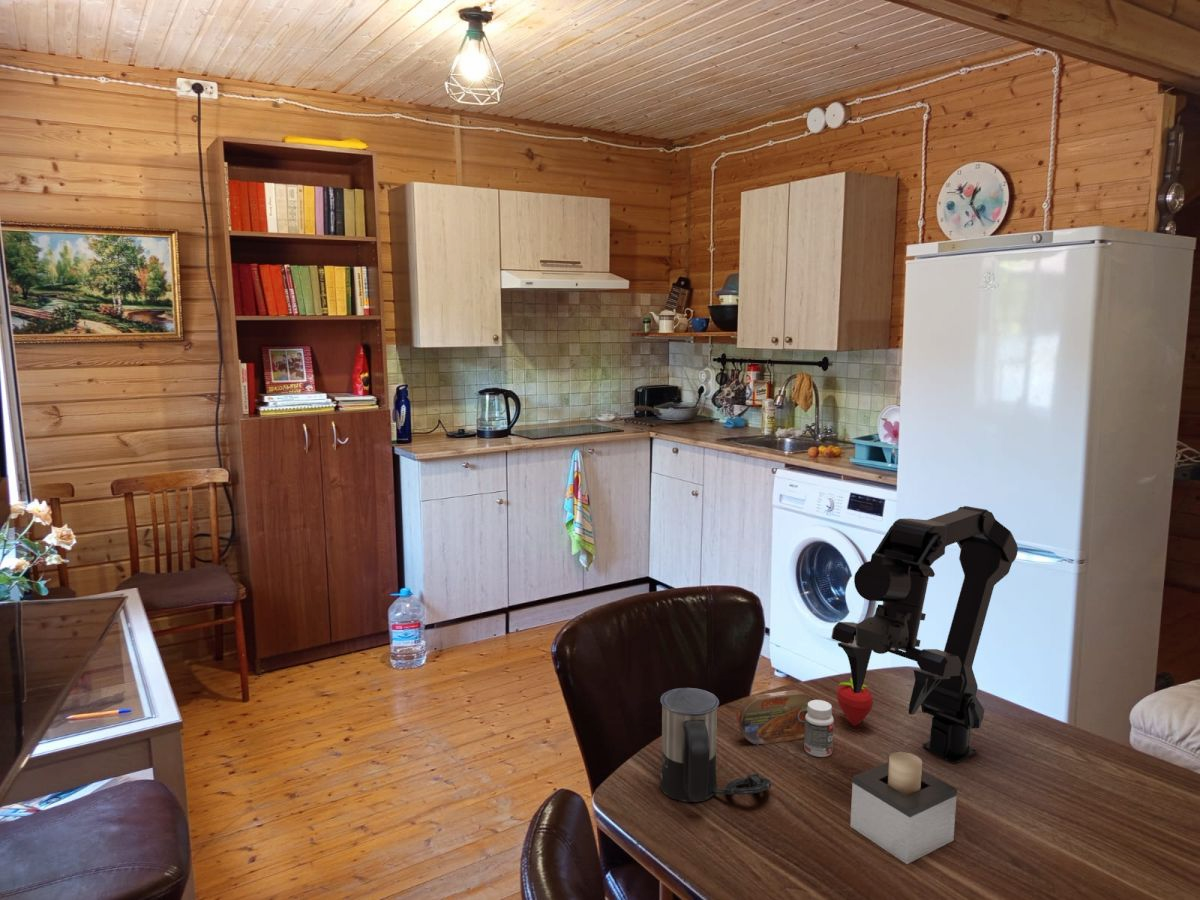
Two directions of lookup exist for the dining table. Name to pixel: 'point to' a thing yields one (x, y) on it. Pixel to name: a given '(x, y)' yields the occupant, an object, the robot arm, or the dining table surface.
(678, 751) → the milk frother
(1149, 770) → the dining table surface
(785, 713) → the tin
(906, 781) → the peg
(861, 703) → the strawberry
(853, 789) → the collar
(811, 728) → the pill bottle
